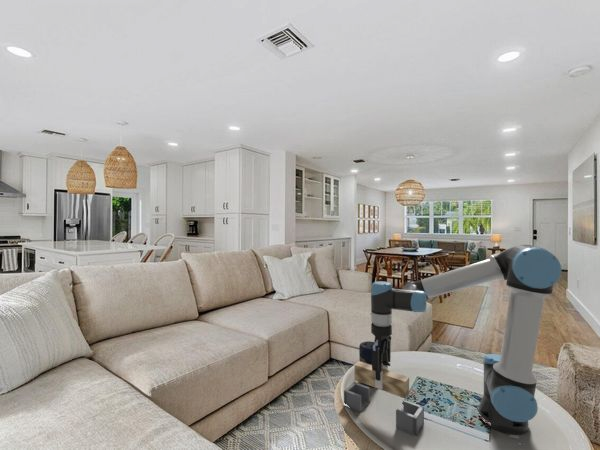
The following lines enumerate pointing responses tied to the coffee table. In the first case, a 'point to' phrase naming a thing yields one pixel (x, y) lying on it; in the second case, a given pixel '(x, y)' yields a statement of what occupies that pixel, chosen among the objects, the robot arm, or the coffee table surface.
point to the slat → (391, 380)
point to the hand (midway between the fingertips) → (381, 385)
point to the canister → (365, 352)
